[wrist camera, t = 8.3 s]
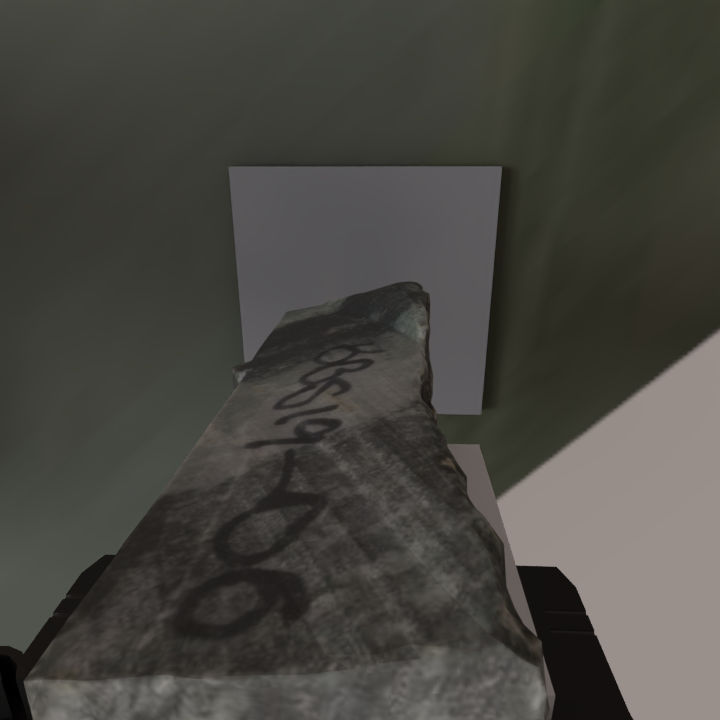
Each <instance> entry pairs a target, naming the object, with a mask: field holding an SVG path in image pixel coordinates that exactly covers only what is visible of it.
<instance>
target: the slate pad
mask: <svg viewBox="0 0 720 720" xmlns="http://www.w3.org/2000/svg"><path fill="white" fill-rule="evenodd" d="M501 174H502V166H229V179H230V191H231V203H232V215H233V227H234V240H235V252H236V264H237V276H238V288H239V301H240V313H241V325H242V337H243V349H244V361H245V362H248V361H251V360H252V359H253V358H254V356H255V355H256V353H257V351H258V350H259V348H260V347H261V346H262V344H263V343H264V341H265V340H266V339H267V337H268V336H269V335H270V334H271V332H272V331H273V329H274V328H275V326H276V325H277V324H278V323H279V322H280V320H281V319H282V317H283V316H284V314H285V313H286V312H288V311H293V310H298V309H303V308H308V307H313V306H318V305H322V304H324V303H326V302H328V301H332V300H337V299H342V298H345V297H348V296H351V295H354V294H359V293H364V292H368V291H371V290H374V289H378V288H381V287H384V286H388V285H391V284H394V283H399V282H407V281H411V282H417V283H419V284H420V285H421V286H422V287H423V291H425V292H427V293H429V295H430V320H429V323H430V329H431V330H430V338H429V353H430V362H431V366H432V371H433V397H432V400H431V404H432V405H433V407H434V408H435V410H436V413H437V414H465V415H481V410H482V398H483V387H484V375H485V363H486V351H487V339H488V328H489V316H490V304H491V292H492V280H493V269H494V257H495V245H496V233H497V221H498V210H499V198H500V186H501Z"/></svg>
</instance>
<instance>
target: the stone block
mask: <svg viewBox="0 0 720 720" xmlns="http://www.w3.org/2000/svg"><path fill="white" fill-rule="evenodd" d="M429 320H430V295H429V293H427V292H425V291H423V287H422V286H421V285H420V284H419V283H417V282H411V281H407V282H399V283H394V284H391V285H388V286H384V287H381V288H378V289H374V290H371V291H368V292H364V293H359V294H354V295H351V296H348V297H345V298H342V299H337V300H332V301H328V302H326V303H324V304H322V305H318V306H313V307H308V308H303V309H298V310H293V311H288V312H286V313H285V314H284V316H283V317H282V319H281V320H280V322H279V323H278V324H277V325H276V326H275V328H274V329H273V331H272V332H271V334H270V335H269V336H268V337H267V339H266V340H265V341H264V343H263V344H262V346H261V347H260V348H259V350H258V351H257V353H256V355H255V356H254V358H253V359H252V360H251V361H248V362H245V363H242V364H240V365H238V366H236V367H233V368H232V374H233V382H234V388H235V390H234V391H233V393H232V394H231V395H230V397H229V398H228V399H227V401H226V402H225V404H224V405H223V406H222V408H221V409H220V410H219V412H218V413H217V415H216V416H215V417H214V419H213V420H212V422H211V423H210V425H209V426H208V427H207V429H206V430H205V432H204V433H203V435H202V436H201V438H200V439H199V440H198V442H197V443H196V445H195V446H194V447H193V449H192V450H191V451H190V453H189V454H188V455H187V457H186V458H185V459H184V461H183V462H182V464H181V465H180V466H179V468H178V469H177V471H176V472H175V474H174V475H173V477H172V478H171V480H170V481H169V483H168V484H167V486H166V487H165V489H164V490H163V492H162V493H161V495H160V496H159V497H158V499H157V500H156V501H155V503H154V504H153V506H152V507H151V508H150V510H149V511H148V512H147V514H146V515H145V516H144V517H143V519H142V520H141V521H140V523H139V524H138V525H137V526H136V528H135V529H134V530H133V532H132V533H131V534H130V536H129V537H128V538H127V539H126V541H125V542H124V544H123V545H122V547H121V548H120V550H119V551H118V553H117V554H116V556H115V557H114V559H113V560H112V562H111V563H110V564H109V566H108V567H107V568H106V570H105V571H104V572H103V574H102V575H101V576H100V578H99V579H98V580H97V581H96V583H95V584H94V585H93V587H92V588H91V589H90V591H89V592H88V593H87V595H86V596H85V597H84V599H83V600H82V601H81V603H80V604H79V605H78V607H77V608H76V609H75V610H74V612H73V613H72V614H71V616H70V617H69V618H68V620H67V621H66V623H65V624H64V625H63V627H62V628H61V630H60V631H59V632H58V634H57V635H56V637H55V638H54V639H53V641H52V642H51V644H50V645H49V646H48V648H47V649H46V651H45V652H44V653H43V655H42V656H41V658H40V659H39V660H38V662H37V663H36V665H35V666H34V667H33V669H32V670H31V672H30V673H29V674H28V676H27V677H26V679H25V680H24V681H23V682H24V686H25V690H26V694H27V698H28V702H29V706H30V710H31V714H32V718H33V720H546V718H547V716H548V713H549V711H550V707H549V702H548V697H547V690H546V680H545V671H544V661H543V651H542V642H541V640H540V639H539V638H538V637H537V636H536V635H535V634H534V633H532V632H531V631H530V630H529V629H528V628H527V627H526V626H525V625H524V624H523V622H522V620H521V618H520V616H519V615H518V613H517V611H516V609H515V607H514V605H513V602H512V599H511V597H510V594H509V592H508V589H507V586H506V570H505V552H504V543H503V542H502V540H501V539H500V537H499V536H498V535H497V533H496V532H495V530H494V529H493V528H492V526H491V525H490V523H489V522H488V521H487V519H486V518H485V516H484V515H483V514H482V513H480V512H479V511H478V510H477V509H476V508H475V506H474V505H473V503H472V502H471V500H470V499H469V496H468V493H467V476H466V475H465V473H464V472H463V470H462V469H461V467H460V466H459V464H458V463H457V462H456V460H455V458H454V456H453V455H452V453H451V451H450V450H449V448H448V446H447V445H446V438H445V436H444V435H443V434H442V433H441V431H440V430H439V429H438V427H437V413H436V410H435V408H434V407H433V405H432V404H431V400H432V397H433V371H432V366H431V362H430V353H429V338H430V330H431V329H430V323H429Z"/></svg>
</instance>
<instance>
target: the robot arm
mask: <svg viewBox="0 0 720 720" xmlns="http://www.w3.org/2000/svg"><path fill="white" fill-rule="evenodd" d="M447 446H448V448H449V450H450V451H451V453H452V455H453V456H454V458H455V460H456V462H457V463H458V464H459V466H460V467H461V469H462V470H463V472H464V473H465V475H466V476H467V493H468V496H469V499H470V500H471V502H472V503H473V505H474V506H475V508H476V509H477V510H478V511H479V512H480V513H482V514H483V515H484V516H485V518H486V519H487V521H488V522H489V523H490V525H491V526H492V528H493V529H494V530H495V532H496V533H497V535H498V536H499V537H500V539H501V540H502V542H503V543H504V552H505V570H506V586H507V589H508V592H509V594H510V597H511V599H512V602H513V605H514V607H515V609H516V611H517V613H518V615H519V616H520V618H521V620H522V622H523V624H524V625H525V626H526V627H527V628H528V629H529V630H530V631H531V632H532V633H534V634H535V635H536V636H537V637H538V638H539V639H540V640H541V642H542V651H543V661H544V671H545V680H546V690H547V697H548V702H549V707H550V711H549V713H548V716H547V718H546V720H633V718H632V717H631V715H630V713H629V711H628V709H627V706H626V704H625V702H624V699H623V697H622V695H621V692H620V690H619V688H618V685H617V683H616V681H615V678H614V676H613V673H612V671H611V669H610V666H609V664H608V662H607V660H606V657H605V655H604V652H603V650H602V648H601V645H600V643H599V641H598V638H597V636H595V634H594V629H593V626H592V624H591V622H590V619H589V617H588V616H587V615H586V610H585V608H584V605H583V603H582V601H581V598H580V596H579V594H578V591H577V589H576V587H575V586H574V585H573V584H572V583H571V582H570V581H569V580H568V579H567V578H566V576H565V575H564V574H563V573H562V572H561V571H560V570H559V569H558V568H557V567H543V566H516V565H515V561H514V558H513V555H512V551H511V548H510V545H509V542H508V538H507V535H506V532H505V528H504V526H503V522H502V519H501V515H500V512H499V509H498V506H497V502H496V499H495V496H494V492H493V489H492V486H491V482H490V479H489V476H488V473H487V469H486V466H485V463H484V459H483V456H482V453H481V450H480V446H479V445H469V444H447ZM115 556H116V555H104V556H103V557H102V558H100V559H99V560H98V561H96V562H95V563H94V564H93V565H91V566H90V567H89V568H87V569H86V570H85V571H84V572H82V573H81V575H80V576H79V577H78V579H77V580H76V582H75V583H74V584H73V586H72V587H71V589H70V590H69V591H68V593H67V594H66V598H65V599H63V600H62V601H61V603H60V604H59V605H58V607H57V608H56V609H55V611H54V612H53V617H52V618H49V619H48V621H47V622H46V623H45V625H44V626H43V628H42V629H41V630H40V632H39V633H38V635H37V636H36V637H35V639H34V640H33V642H32V643H31V644H30V646H29V647H28V649H27V650H26V651H25V653H24V654H23V653H22V651H19V650H17V649H14V648H12V647H10V646H0V720H33V718H32V714H31V710H30V706H29V702H28V698H27V694H26V690H25V686H24V682H23V681H24V680H25V679H26V677H27V676H28V674H29V673H30V672H31V670H32V669H33V667H34V666H35V665H36V663H37V662H38V660H39V659H40V658H41V656H42V655H43V653H44V652H45V651H46V649H47V648H48V646H49V645H50V644H51V642H52V641H53V639H54V638H55V637H56V635H57V634H58V632H59V631H60V630H61V628H62V627H63V625H64V624H65V623H66V621H67V620H68V618H69V617H70V616H71V614H72V613H73V612H74V610H75V609H76V608H77V607H78V605H79V604H80V603H81V601H82V600H83V599H84V597H85V596H86V595H87V593H88V592H89V591H90V589H91V588H92V587H93V585H94V584H95V583H96V581H97V580H98V579H99V578H100V576H101V575H102V574H103V572H104V571H105V570H106V568H107V567H108V566H109V564H110V563H111V562H112V560H113V559H114V557H115Z"/></svg>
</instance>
